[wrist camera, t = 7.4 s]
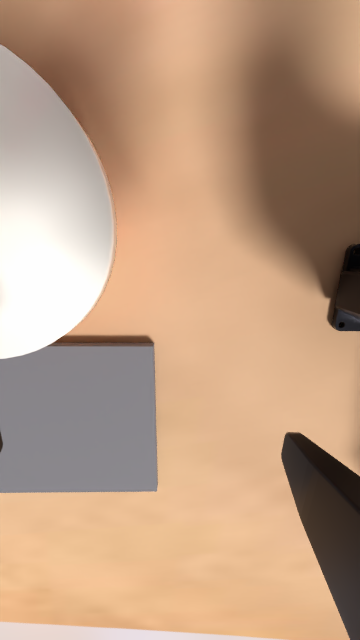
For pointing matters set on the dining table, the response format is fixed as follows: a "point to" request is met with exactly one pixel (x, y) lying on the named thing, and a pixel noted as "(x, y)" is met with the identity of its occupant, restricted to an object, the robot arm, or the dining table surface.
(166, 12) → the dining table surface
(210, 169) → the dining table surface
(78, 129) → the lid
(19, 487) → the mat
